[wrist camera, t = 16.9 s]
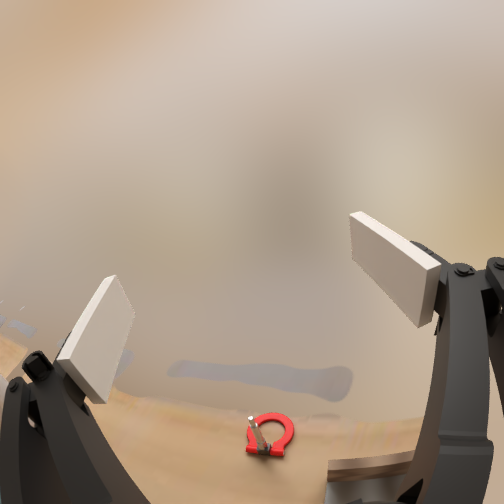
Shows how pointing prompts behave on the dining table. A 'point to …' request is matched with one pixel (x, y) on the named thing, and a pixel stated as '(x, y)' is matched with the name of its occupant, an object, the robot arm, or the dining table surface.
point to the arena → (366, 478)
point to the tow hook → (258, 441)
